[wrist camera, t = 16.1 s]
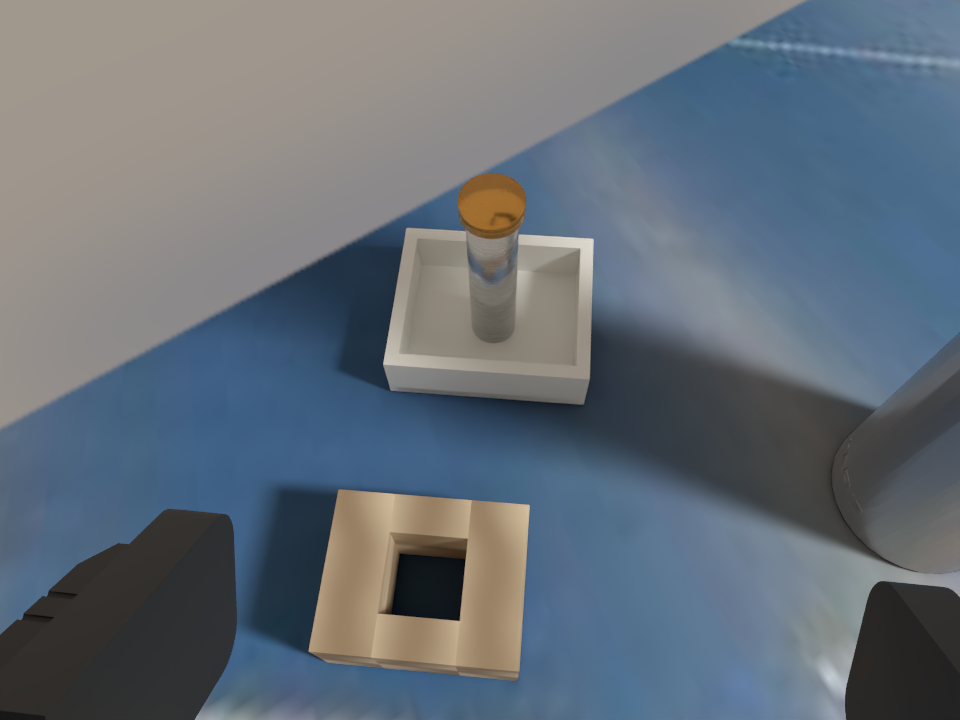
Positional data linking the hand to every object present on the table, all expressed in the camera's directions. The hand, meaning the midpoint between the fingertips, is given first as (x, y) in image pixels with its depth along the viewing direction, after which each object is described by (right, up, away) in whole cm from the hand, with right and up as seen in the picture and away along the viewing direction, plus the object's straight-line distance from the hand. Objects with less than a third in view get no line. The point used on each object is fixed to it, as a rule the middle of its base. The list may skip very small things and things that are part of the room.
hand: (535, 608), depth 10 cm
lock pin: (0, +5, +39) cm, 39 cm away
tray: (0, +5, +40) cm, 40 cm away
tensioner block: (-3, -10, +32) cm, 33 cm away
